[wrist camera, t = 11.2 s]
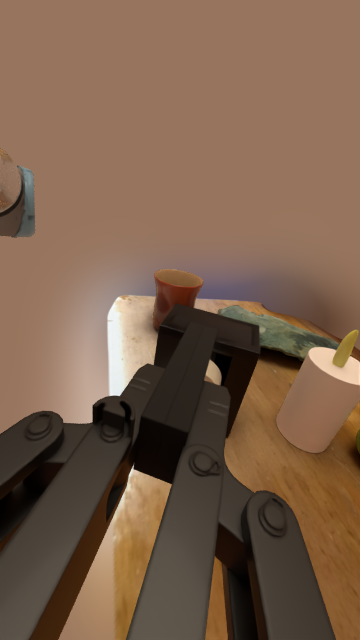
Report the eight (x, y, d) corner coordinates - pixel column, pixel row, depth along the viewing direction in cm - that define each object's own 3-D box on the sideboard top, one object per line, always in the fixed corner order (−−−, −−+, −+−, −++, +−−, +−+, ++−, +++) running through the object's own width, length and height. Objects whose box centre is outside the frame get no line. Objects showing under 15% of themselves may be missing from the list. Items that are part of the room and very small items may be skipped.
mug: (200, 338, 47) (212, 287, 42) (155, 341, 44) (162, 286, 39) (178, 309, 56) (185, 264, 52) (139, 309, 53) (144, 262, 48)
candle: (336, 434, 32) (404, 335, 25) (315, 463, 28) (391, 354, 21) (290, 402, 36) (338, 308, 29) (266, 423, 32) (316, 320, 25)
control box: (147, 409, 30) (159, 324, 25) (162, 379, 36) (176, 303, 30) (227, 437, 29) (260, 353, 23) (232, 401, 34) (259, 325, 28)
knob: (166, 400, 25) (173, 364, 22) (183, 363, 30) (189, 331, 28) (212, 416, 24) (223, 379, 22) (220, 375, 29) (230, 342, 27)
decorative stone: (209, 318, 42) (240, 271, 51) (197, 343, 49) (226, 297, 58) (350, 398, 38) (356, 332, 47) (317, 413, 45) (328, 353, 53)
